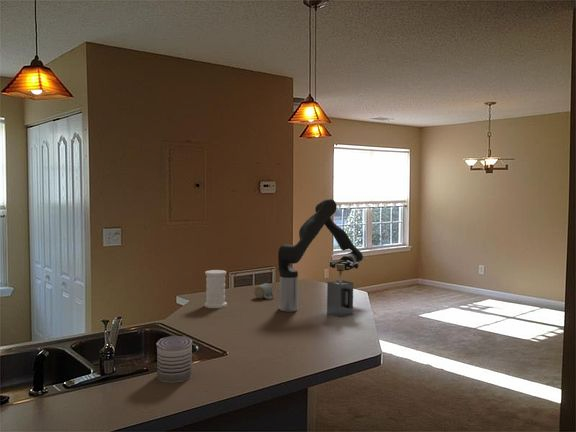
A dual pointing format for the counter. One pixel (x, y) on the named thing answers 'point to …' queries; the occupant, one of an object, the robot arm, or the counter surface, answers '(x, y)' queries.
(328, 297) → the square hole block
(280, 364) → the counter surface
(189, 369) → the can
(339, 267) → the plunger
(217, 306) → the decorative container
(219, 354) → the counter surface
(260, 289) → the ceramic mug
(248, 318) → the counter surface
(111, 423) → the counter surface
